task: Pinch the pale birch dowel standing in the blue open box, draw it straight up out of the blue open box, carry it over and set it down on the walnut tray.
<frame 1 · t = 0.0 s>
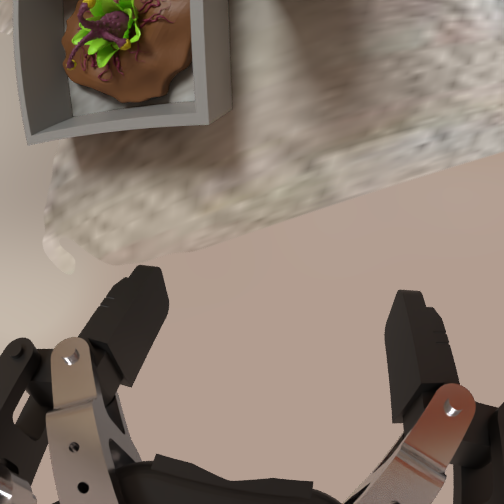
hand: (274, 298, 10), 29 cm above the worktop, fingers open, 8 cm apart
grey open bin: (130, 24, 30), on the worktop
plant: (133, 25, 30), resting in grey open bin
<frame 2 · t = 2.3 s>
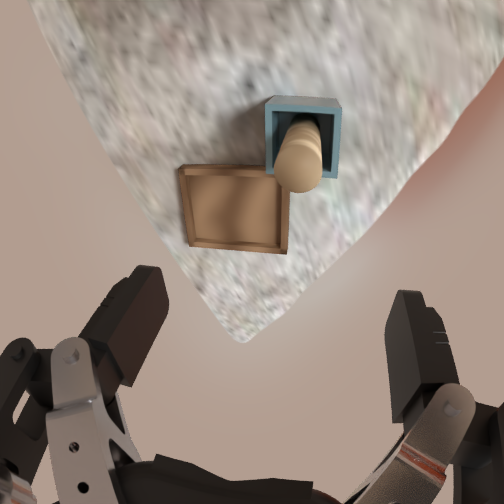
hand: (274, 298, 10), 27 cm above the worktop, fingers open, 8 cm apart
blue open box: (304, 125, 32), on the worktop
tray: (236, 206, 40), on the worktop
dowel: (304, 127, 32), point 1 cm above the worktop, touching blue open box
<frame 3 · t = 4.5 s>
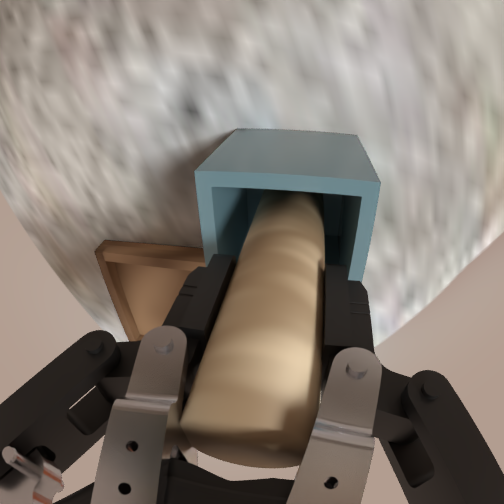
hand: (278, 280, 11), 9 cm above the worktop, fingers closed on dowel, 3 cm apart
blue open box: (295, 185, 18), on the worktop
tray: (189, 302, 25), on the worktop
dowel: (294, 190, 18), point 1 cm above the worktop, touching blue open box, gripper
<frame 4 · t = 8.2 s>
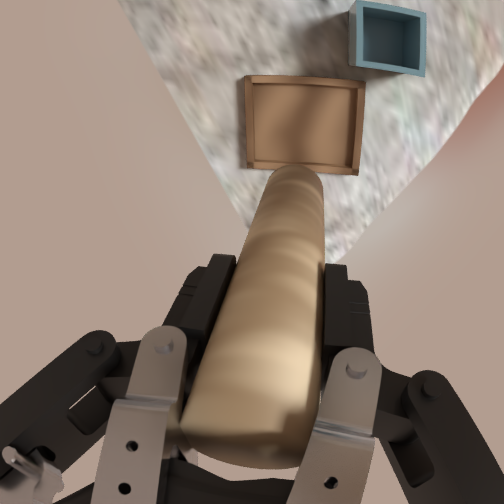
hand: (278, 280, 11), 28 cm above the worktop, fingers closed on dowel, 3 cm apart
blue open box: (377, 41, 27), on the worktop
tray: (304, 122, 34), on the worktop
dowel: (294, 191, 18), point 20 cm above the worktop, touching gripper
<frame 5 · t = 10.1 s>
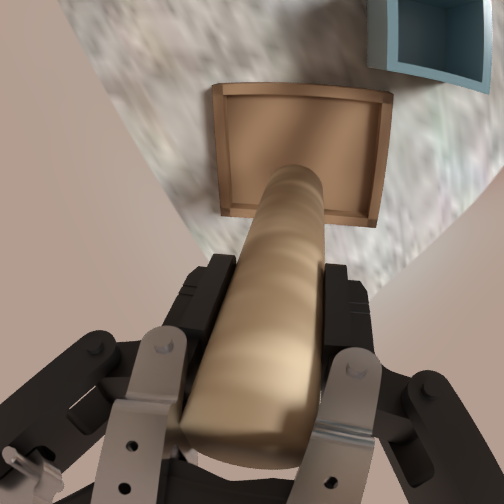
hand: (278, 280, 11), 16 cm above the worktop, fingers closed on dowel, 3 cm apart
blue open box: (409, 33, 17), on the worktop
tray: (301, 151, 24), on the worktop
dowel: (294, 191, 18), point 8 cm above the worktop, touching gripper
when the fingers open (9 cm above the worktop, at t = 11.8 s): dowel stays where it is, resting on tray.
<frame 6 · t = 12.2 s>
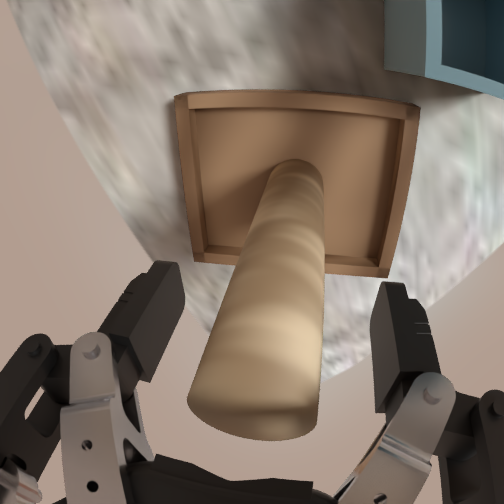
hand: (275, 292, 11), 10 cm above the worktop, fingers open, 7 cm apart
blue open box: (439, 26, 12), on the worktop
tray: (295, 181, 19), on the worktop
dowel: (296, 184, 18), point 1 cm above the worktop, touching tray
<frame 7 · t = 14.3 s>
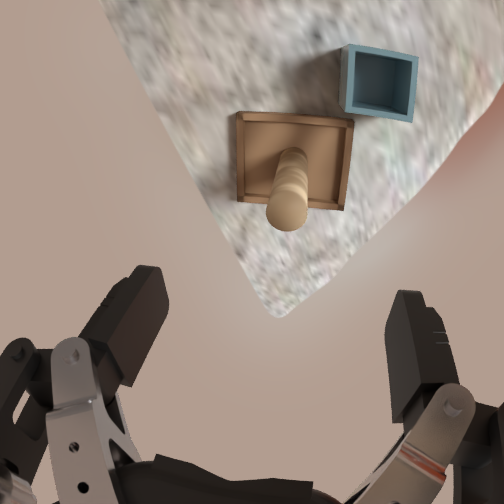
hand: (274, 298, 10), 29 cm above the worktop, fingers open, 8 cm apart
blue open box: (368, 79, 30), on the worktop
tray: (293, 158, 36), on the worktop
dowel: (293, 160, 36), point 1 cm above the worktop, touching tray
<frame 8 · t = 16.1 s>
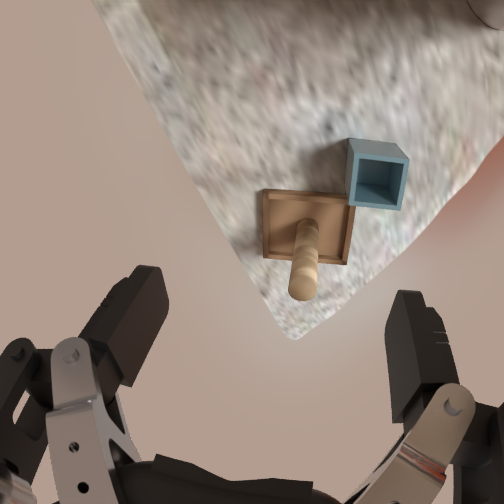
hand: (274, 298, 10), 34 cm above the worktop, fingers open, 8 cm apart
blue open box: (370, 163, 40), on the worktop
tray: (307, 225, 47), on the worktop
dowel: (308, 227, 47), point 1 cm above the worktop, touching tray
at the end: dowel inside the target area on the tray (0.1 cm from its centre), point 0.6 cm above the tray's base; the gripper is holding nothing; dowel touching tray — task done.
